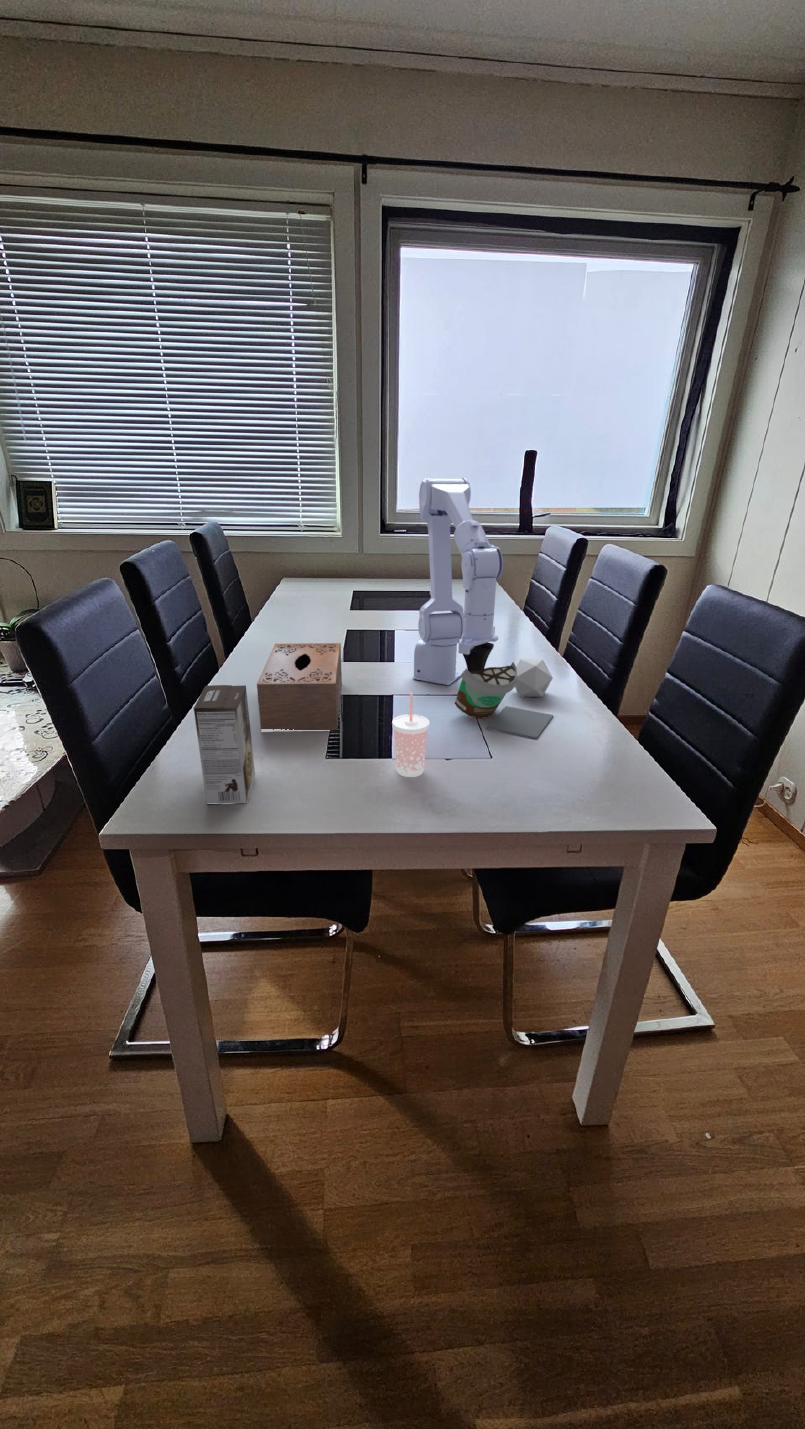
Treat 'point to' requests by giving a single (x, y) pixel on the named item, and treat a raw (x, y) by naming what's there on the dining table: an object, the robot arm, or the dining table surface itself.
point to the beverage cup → (410, 742)
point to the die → (532, 678)
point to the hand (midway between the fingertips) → (475, 679)
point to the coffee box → (225, 743)
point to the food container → (485, 690)
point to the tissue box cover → (301, 687)
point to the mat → (520, 722)
